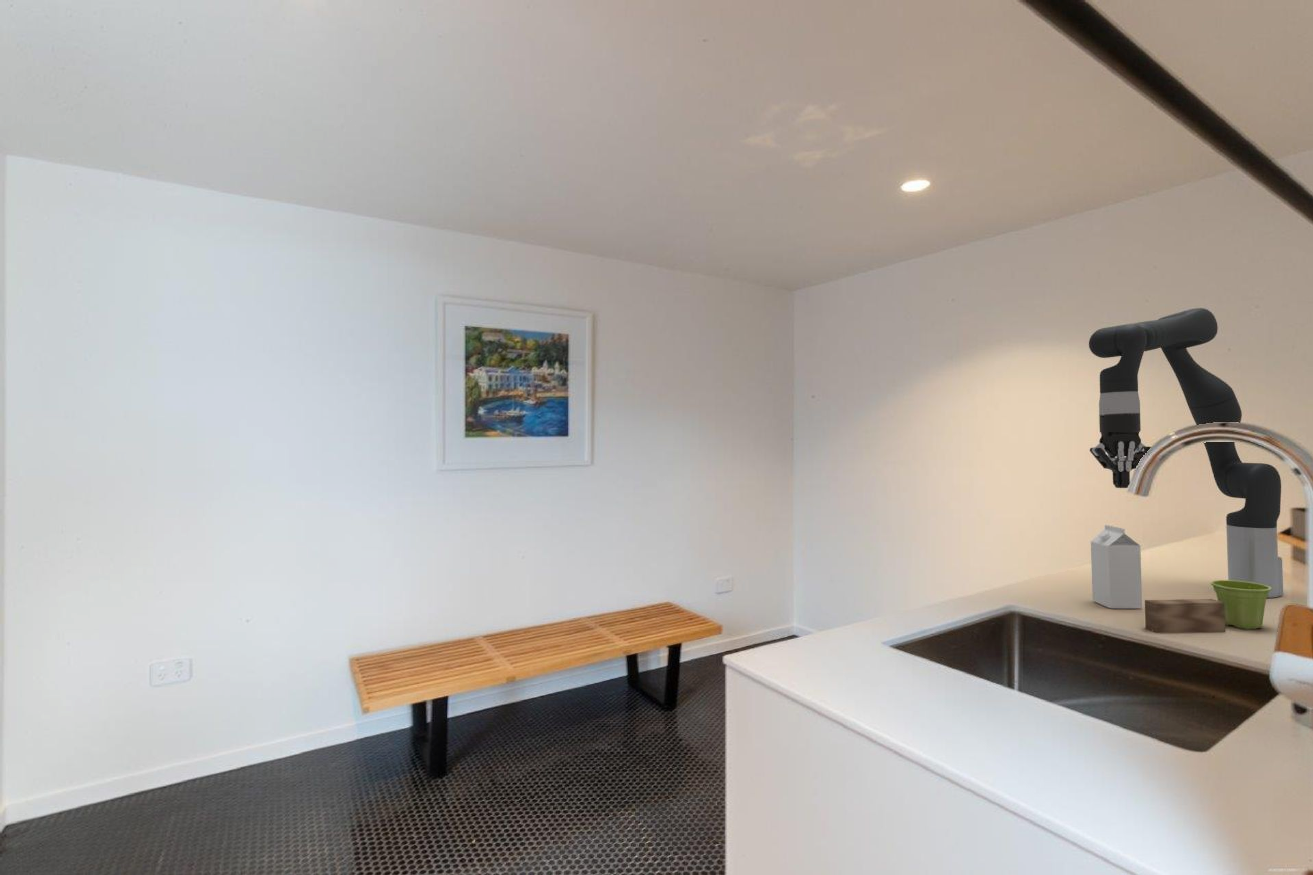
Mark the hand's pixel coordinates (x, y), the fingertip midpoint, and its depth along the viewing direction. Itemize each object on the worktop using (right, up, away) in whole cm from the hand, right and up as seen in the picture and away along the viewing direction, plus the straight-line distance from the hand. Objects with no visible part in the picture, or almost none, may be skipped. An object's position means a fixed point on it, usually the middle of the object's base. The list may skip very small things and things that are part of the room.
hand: (1121, 487), depth 140 cm
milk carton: (+5, -29, +8) cm, 31 cm away
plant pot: (+18, -29, -10) cm, 36 cm away
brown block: (+4, -29, -12) cm, 32 cm away
